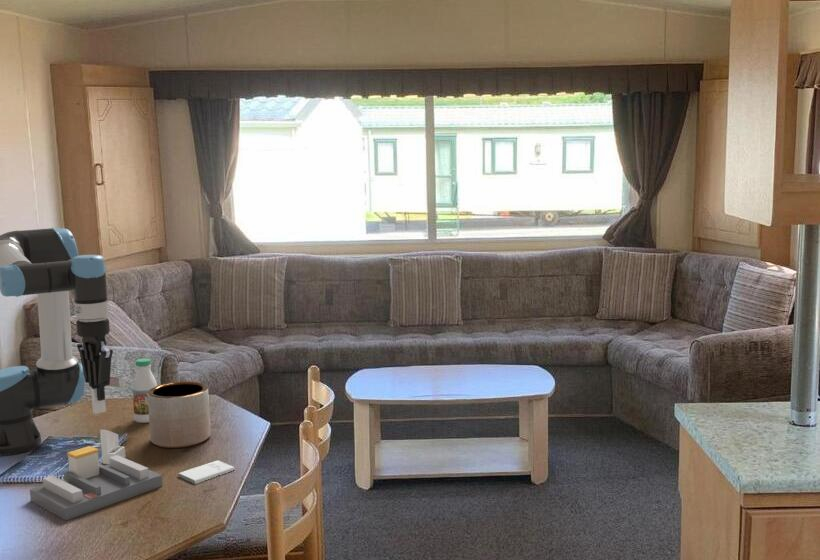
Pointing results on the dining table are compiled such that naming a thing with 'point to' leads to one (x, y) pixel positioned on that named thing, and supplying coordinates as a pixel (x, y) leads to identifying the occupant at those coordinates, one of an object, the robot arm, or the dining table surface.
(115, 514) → the dining table surface
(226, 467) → the external hard drive
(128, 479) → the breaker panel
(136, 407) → the milk bottle
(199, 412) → the planter
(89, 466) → the block
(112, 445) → the white angled block
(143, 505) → the dining table surface
